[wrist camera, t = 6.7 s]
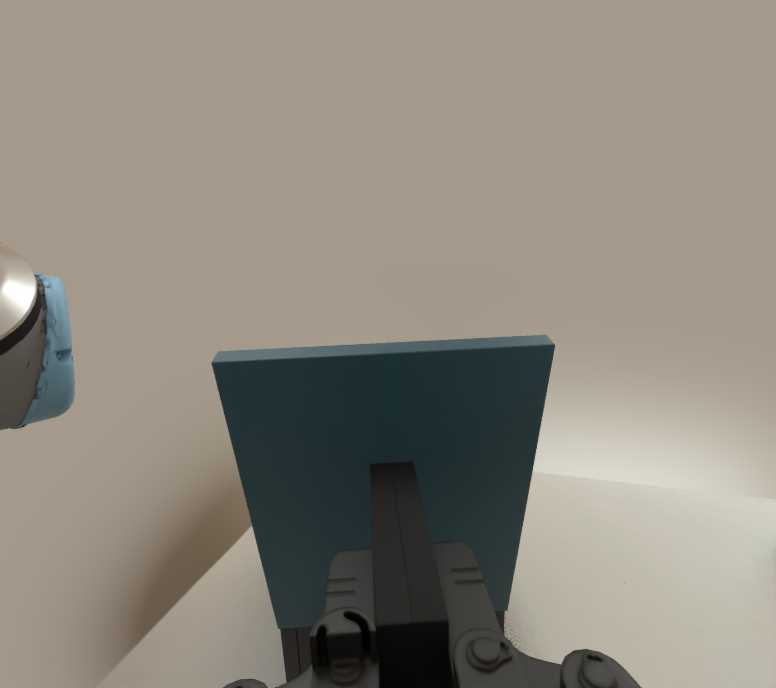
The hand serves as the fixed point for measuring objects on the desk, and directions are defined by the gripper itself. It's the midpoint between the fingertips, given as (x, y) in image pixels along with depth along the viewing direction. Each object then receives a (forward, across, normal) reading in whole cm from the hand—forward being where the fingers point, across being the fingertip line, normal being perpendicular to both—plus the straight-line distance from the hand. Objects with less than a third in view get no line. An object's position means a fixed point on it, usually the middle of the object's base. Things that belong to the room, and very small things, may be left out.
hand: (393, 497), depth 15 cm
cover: (+3, 0, -2) cm, 4 cm away
